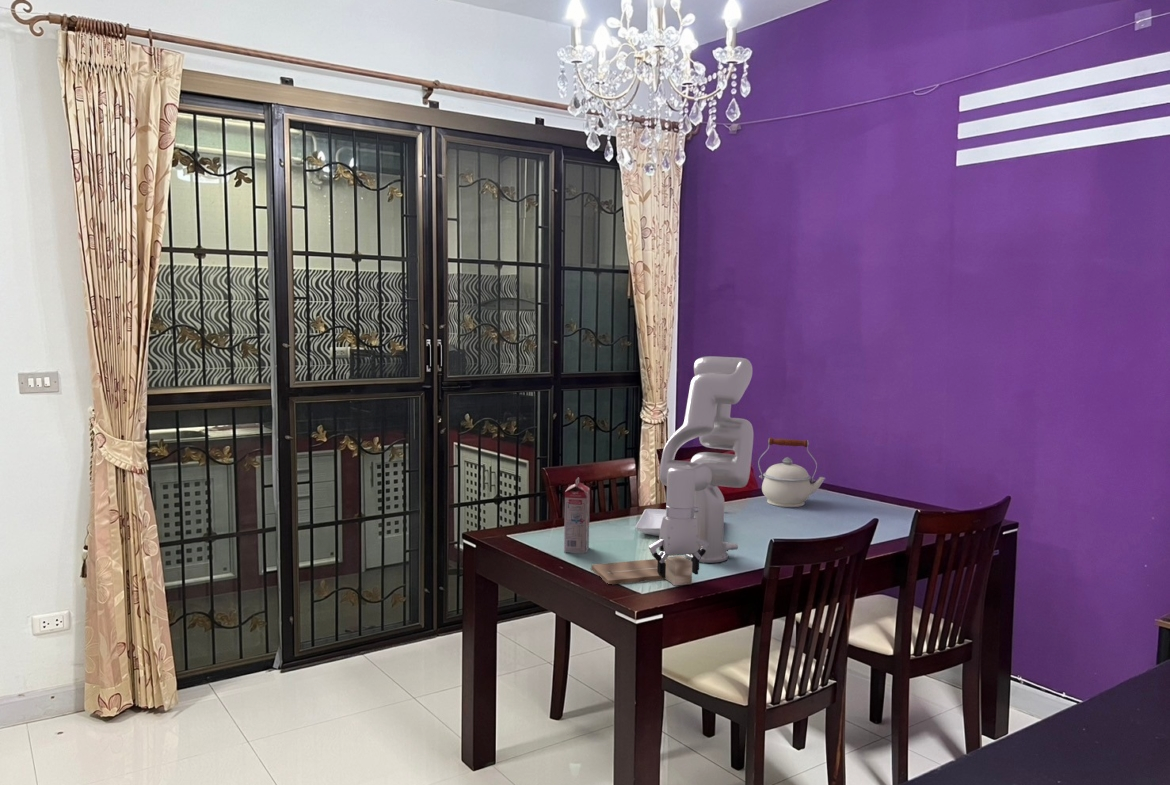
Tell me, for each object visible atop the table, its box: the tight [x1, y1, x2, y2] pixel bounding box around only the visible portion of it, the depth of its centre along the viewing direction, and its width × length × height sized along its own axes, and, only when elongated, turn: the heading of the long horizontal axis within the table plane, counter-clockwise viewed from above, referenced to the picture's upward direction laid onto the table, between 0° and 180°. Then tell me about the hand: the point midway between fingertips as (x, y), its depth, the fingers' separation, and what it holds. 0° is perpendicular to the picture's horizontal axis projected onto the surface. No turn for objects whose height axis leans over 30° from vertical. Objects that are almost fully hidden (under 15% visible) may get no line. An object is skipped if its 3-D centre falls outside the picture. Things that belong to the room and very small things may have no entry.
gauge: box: [664, 555, 693, 586], centre depth 229 cm, size 5×12×6 cm, turn 19°
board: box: [590, 558, 666, 585], centre depth 233 cm, size 22×14×1 cm, turn 109°
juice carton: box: [563, 476, 591, 554], centre depth 254 cm, size 7×7×22 cm
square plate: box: [634, 508, 666, 537], centre depth 280 cm, size 27×27×4 cm
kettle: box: [757, 437, 826, 508], centre depth 319 cm, size 25×18×25 cm
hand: (678, 574), depth 226 cm, fingers open, 9 cm apart
